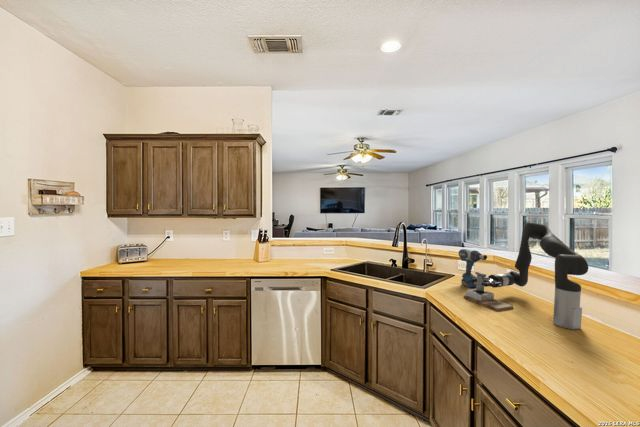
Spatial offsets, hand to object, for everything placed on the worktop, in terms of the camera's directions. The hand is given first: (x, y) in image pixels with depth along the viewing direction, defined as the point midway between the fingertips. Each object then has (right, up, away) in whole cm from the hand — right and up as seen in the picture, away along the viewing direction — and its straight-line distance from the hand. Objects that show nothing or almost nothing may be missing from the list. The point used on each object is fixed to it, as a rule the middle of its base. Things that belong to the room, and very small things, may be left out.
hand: (478, 282), depth 170 cm
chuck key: (+2, -9, +1) cm, 9 cm away
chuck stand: (+3, -11, -4) cm, 12 cm away
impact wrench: (+11, -10, +29) cm, 33 cm away
